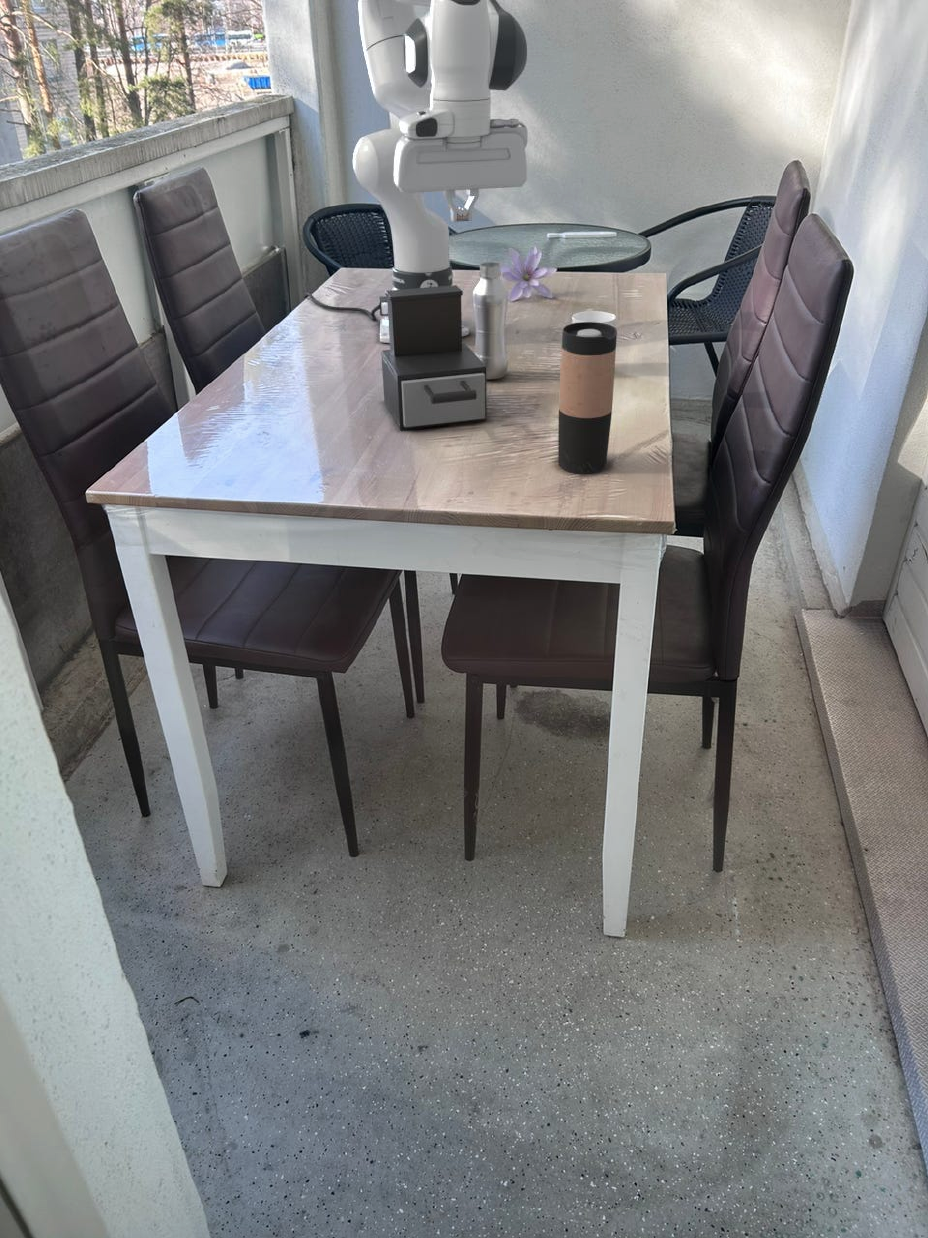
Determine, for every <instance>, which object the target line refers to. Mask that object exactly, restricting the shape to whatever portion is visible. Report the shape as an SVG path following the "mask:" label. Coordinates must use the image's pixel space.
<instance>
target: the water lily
mask: <svg viewBox="0 0 928 1238" xmlns="http://www.w3.org/2000/svg"><path fill="white" fill-rule="evenodd" d="M508 255H509V258H510V261H511V263H512V265H513V266H512V265H509V264H507V263H500V265H501V277H502V278H503V279H504V280H506V281H508V282H513V283H515V284H514V285H513V287H512V288H511V290H510V292H509V301H510V302H514V301H517V300H518V299H519V298H520V297H521V295H523V296H524V297H525V298H526V299H528V298H530V297H531V295H532V289H534V290H535V291H536V292H537V293H538V294H540V295H542V296H543V297H546V298H548V299H553V298H554V295H553V293H552V291H551V290H550V289H549V288H548V287H547V286H546V285H545V284H543V283H541V282H539V281H538V280H540V279H544V278H547V277H549V276H552V275H553V274H554V273H556V272H557V270H558V268H557V267H553V266H547V267H540V268H538V265H539V264H540V261H541V258H542V250H537V247H536V246H535V245H534V246H532V247H531V248H530V249H529V251H528V253H527V256H526V259H524V258H523V257H522V255H520V253H519V252H518V251H517V250H516V249H514V248H512V247H509V248H508Z"/></svg>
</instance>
